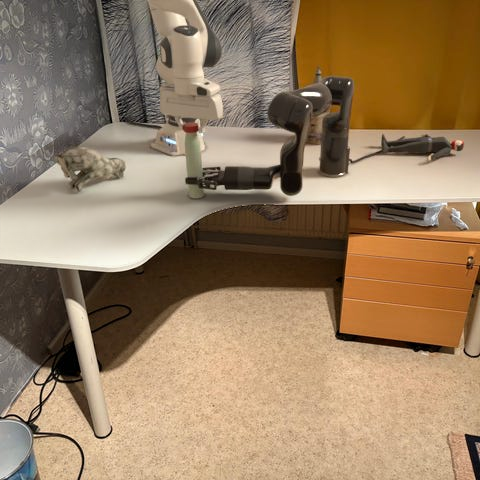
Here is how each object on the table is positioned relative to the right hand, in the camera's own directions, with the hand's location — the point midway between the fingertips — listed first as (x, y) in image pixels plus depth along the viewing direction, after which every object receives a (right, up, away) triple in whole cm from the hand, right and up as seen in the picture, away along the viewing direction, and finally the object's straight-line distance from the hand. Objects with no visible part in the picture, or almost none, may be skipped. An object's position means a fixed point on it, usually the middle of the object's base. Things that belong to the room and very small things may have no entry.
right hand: (187, 177), depth 172 cm
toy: (+87, +13, +34) cm, 94 cm away
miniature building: (+48, +21, +49) cm, 72 cm away
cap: (+2, +15, -9) cm, 17 cm away
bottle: (+3, -6, +3) cm, 7 cm away
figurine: (-33, -1, +12) cm, 35 cm away
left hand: (+2, +13, -8) cm, 16 cm away
